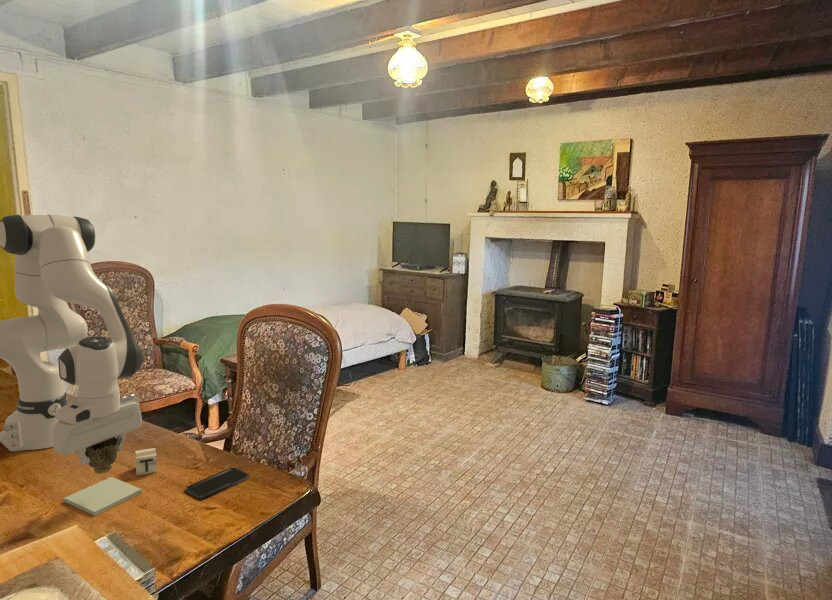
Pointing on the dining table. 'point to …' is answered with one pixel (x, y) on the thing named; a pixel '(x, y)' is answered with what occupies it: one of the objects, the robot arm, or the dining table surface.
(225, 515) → the dining table surface
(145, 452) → the letter cube
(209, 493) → the phone
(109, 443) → the cup
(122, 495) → the sage board
